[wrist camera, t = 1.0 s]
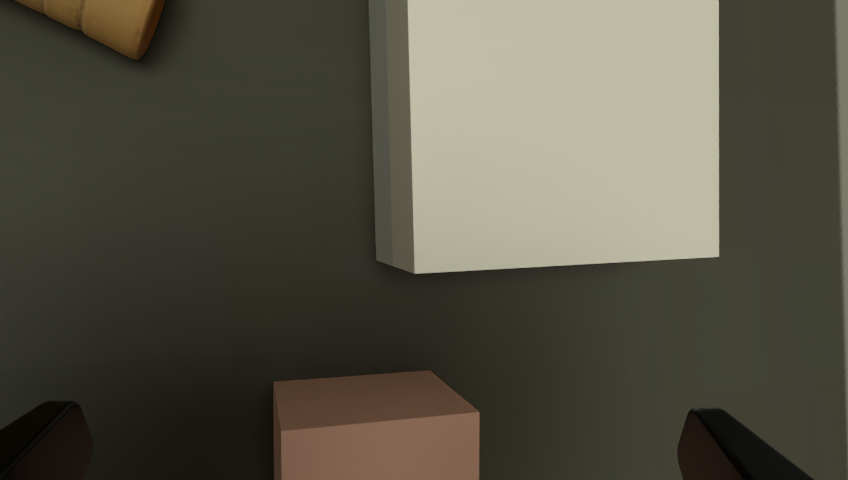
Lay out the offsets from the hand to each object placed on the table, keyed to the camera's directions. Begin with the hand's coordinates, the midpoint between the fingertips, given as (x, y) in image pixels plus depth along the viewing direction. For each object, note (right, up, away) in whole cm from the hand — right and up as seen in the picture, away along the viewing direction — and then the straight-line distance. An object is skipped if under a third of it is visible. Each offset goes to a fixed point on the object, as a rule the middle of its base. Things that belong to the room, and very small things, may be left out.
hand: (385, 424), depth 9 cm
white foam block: (+4, +7, +13) cm, 16 cm away
